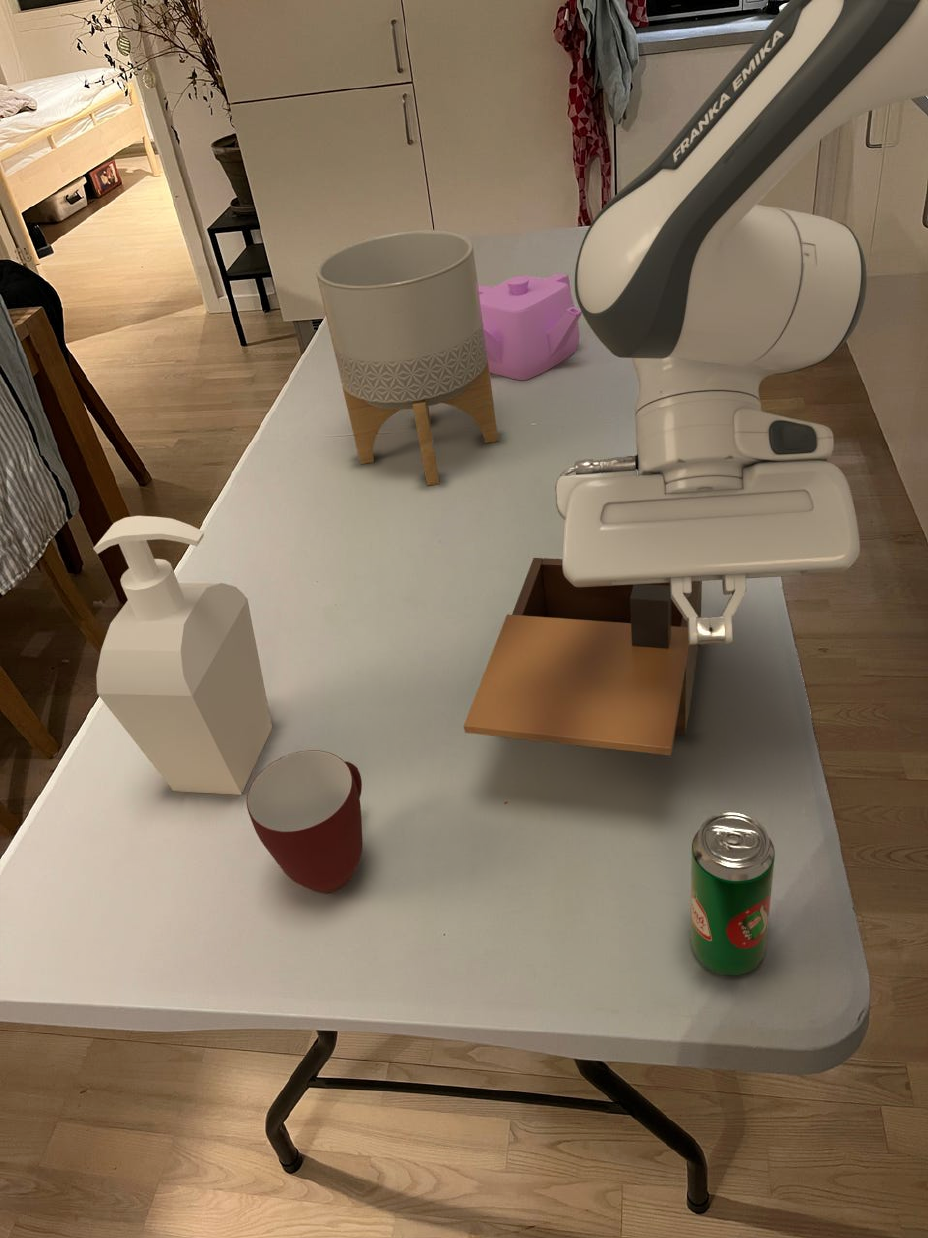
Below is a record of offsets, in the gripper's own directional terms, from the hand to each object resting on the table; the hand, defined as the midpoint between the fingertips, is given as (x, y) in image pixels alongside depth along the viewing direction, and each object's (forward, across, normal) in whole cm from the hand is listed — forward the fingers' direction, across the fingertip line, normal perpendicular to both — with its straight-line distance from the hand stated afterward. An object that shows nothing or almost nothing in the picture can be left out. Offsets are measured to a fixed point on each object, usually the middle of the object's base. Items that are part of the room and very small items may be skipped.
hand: (710, 643), depth 68 cm
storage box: (+1, -8, +23) cm, 24 cm away
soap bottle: (+8, -42, +16) cm, 46 cm away
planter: (-32, -31, +55) cm, 71 cm away
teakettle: (-50, -19, +74) cm, 91 cm away
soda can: (+21, 0, +3) cm, 21 cm away
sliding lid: (+2, -10, +10) cm, 14 cm away
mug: (+16, -30, +8) cm, 35 cm away
